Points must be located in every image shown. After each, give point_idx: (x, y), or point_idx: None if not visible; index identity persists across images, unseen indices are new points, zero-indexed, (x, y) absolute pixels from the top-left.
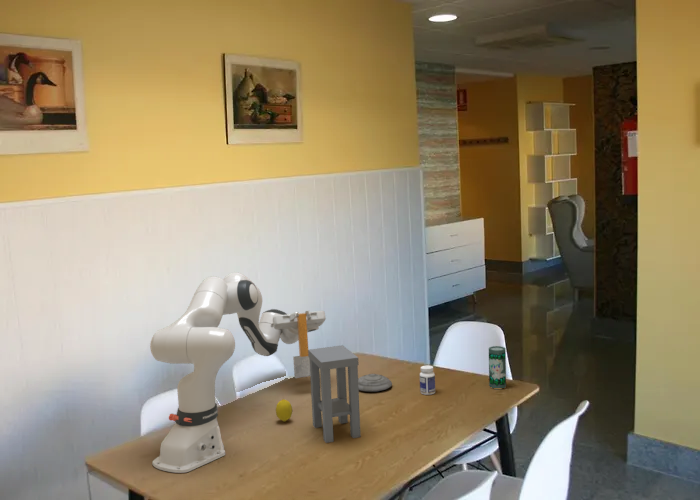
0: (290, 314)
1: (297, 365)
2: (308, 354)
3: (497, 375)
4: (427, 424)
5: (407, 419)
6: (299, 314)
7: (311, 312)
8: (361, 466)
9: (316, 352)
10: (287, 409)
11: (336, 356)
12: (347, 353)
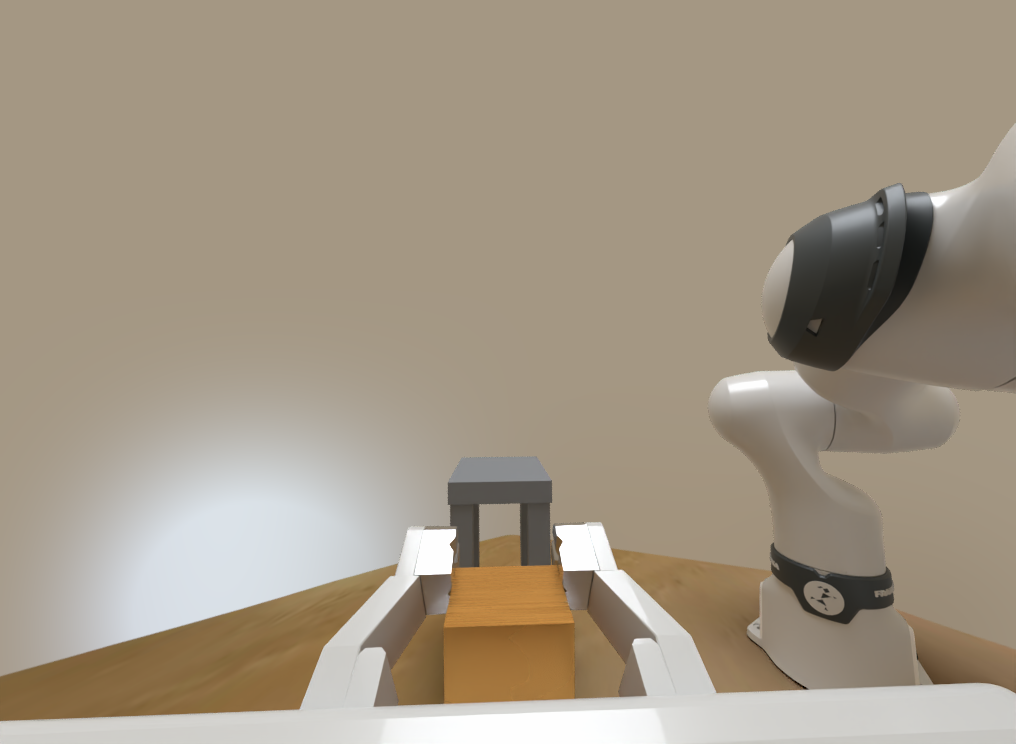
0: (702, 693)
1: None
2: (551, 494)
3: None
4: (305, 636)
5: (311, 669)
6: (538, 570)
7: (251, 714)
8: (503, 565)
9: (533, 472)
10: None
11: (498, 462)
12: (469, 464)
